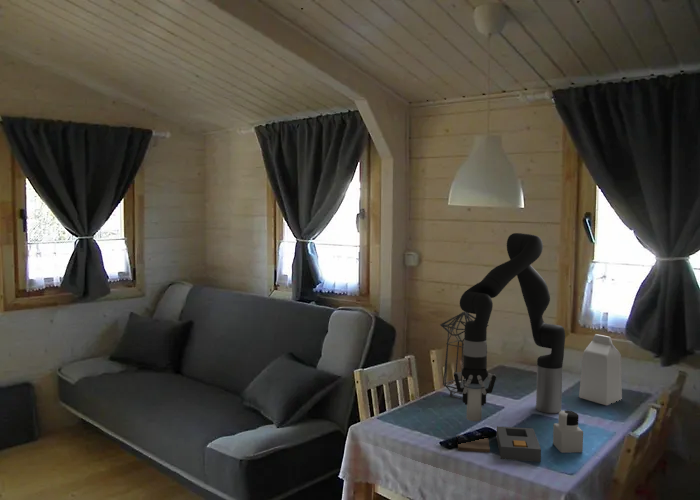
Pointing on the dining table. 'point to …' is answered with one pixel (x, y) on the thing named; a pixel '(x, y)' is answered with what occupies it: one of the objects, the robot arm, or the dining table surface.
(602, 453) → the dining table surface
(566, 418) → the medicine bottle
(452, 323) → the geometric lantern
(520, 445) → the orange cardboard box
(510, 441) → the block
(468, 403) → the cylinder
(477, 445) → the walnut pad
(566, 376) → the dining table surface
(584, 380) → the milk
